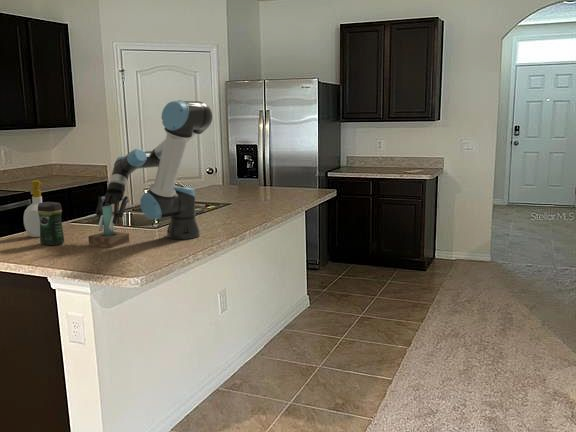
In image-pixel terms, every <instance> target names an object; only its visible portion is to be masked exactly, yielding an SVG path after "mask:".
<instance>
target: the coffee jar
mask: <svg viewBox="0 0 576 432" xmlns="http://www.w3.org/2000/svg"><path fill="white" fill-rule="evenodd" d="M62 212H63V210H62V205H61V203H60V202H56V201H55V202H54V201H44V202H43V201H42V203H39V204H38V214H39V218H40V237H39V238H40V239H39V243H40V244H41V245H45V246H56V245H62V244H64V242H65V235H64V229H63V223H62Z"/></svg>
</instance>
